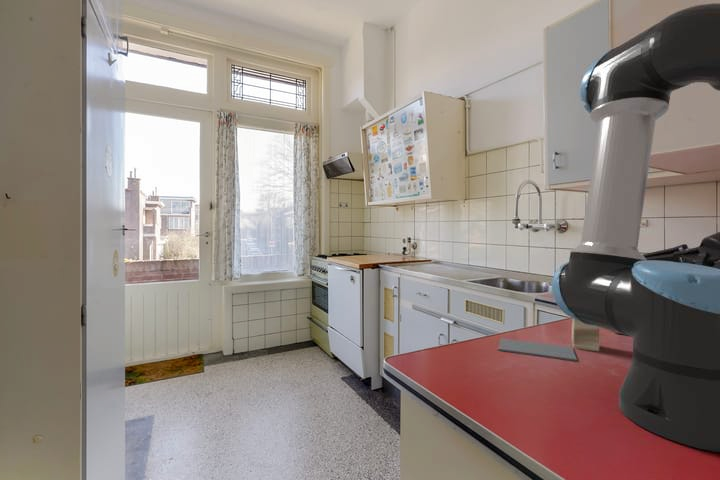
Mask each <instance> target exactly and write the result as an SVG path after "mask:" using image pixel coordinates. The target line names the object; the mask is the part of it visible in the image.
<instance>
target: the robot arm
mask: <svg viewBox="0 0 720 480" xmlns="http://www.w3.org/2000/svg"><path fill="white" fill-rule="evenodd" d="M695 83H704V84H708V85H710V86H711V88H713V89H714V90H716V91H718V92H720V2H719V3H715V2H713V3H703V4H698V5H694V6H690V7H686V8H684V9H680V10H679V11H676V12H674V13H672V14H669V15H668V16H667V17H664V18H663V19H662V20H660V21H659V22H658V23H656V24H654V25H652V26H651V27H649V28H647V29H645V30H644V31H642V32H640V33H639V34H637V35H636V36H634V37H632V38H629V40H627V41H625V42H624V43H622V44H621V45H619V46H615V48H612V49H610V50H608V51H607V52H605V53H604V54H603V55H602V56H601V57H599V58H598V59H597V60H596V61H595V60H594V62H593V63H592V64H591V65H590V66H589V67H588V68H587V70H586V71H585V73H584V75H583V77H582V80H581V83H580V88H579V89H580V90H579V96H580V100H581V102H584V104H583V108H584V109H585V110H586V111H587V112H588V113H589V116H590V117H589V118H590V120H591V121H593V122H594V123H595V124H597V130H596V136H595V144H594V150H593V151H594V152H593V157H592V164H591V171H590V177H589V185H588V192H587V198H586V205H585V212H584V220H583V226H582V233H581V240H580V243H579V244H578V245H577V246H575V247H574V248H573V249H571V250H570V252H569V253H570V254H569V261H567V262H565V263H563V264H561V265H560V267H559V268H558V269H556V271H555V272H554V274H553V277H552V280H551V281H552V282H551V293H552V297H553V300H554V302H555V304H556V305H557V306H558V308H559V309H560V310H561V311H562V312H563V313H564V314H565V315H566V316H568V317H570V318H571V319H572V318H574V319H577V320H579V321H581V322H582V323H585V324H588V325H595V326H598V327H599V328H601V329H605V330H609V331H611V332H613V331H614V332H613V333H615V332H617V333H621V334H620V335H624V336H629V337H631V338H632V362H631V365H629V369H628V371H627V373H626V375H625V377H624V380H623V382H622V384H621V387H620V388H619V391H618V407H619V410H620V411H621V413H622V414H623V415H624V416H625V417H626V418H628V419H629V420H630V421H631V422H633V423H634V424H636V425H638V426H639V427H641V428H643V429H645V430H647V431H649V432H651V433H653V434H655V435H658V436H660V437H663V438H664V439H668V440H670V441H673V442H676V443H679V444H682V445H685V446H687V447H688V446H689V447H693V448H696V449H700V450H703V451H704V450H705V451H709V452H714V453H720V231H718V232H716V233H713V234H711V235H708V236H706V237H704V238H703V239H702V240H701V242H700V245H699V246H697V247H693V248H692V247H691V248H690V247H688V244H685V243H684V244H680V245H677V246H674V247H670V248H666V249H662V250H661V249H660V250H658V251H657V250H656V251H653V252H647V253H644V254H642V253H641V252H640V251H639V249H638V246H639V240H640V231H641V224H642V218H643V217H642V216H643V211H644V205H645V196H646V191H647V183H648V175H649V169H650V164H651V163H650V162H651V161H650V160H651V156H652V155H651V154H652V149H653V142H654V133H655V127H656V121H657V120H658V119H659V118H661V117H662V116H664V115H665V114H666V113H667V112H668V110H669V106H670V99H671V94H672V92H674V91H676V90H679V89H681V88H684V87H687V86H689V85H691V84H695ZM617 333H616V334H617Z"/></svg>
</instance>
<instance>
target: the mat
mask: <svg viewBox="0 0 720 480" xmlns="http://www.w3.org/2000/svg"><path fill="white" fill-rule="evenodd" d="M497 349H498V351H501V352H507V353H514V354H521V355H528V356H535V357H536V356H537V357H541V358H542V357H543V358H544V357H545V358H551V359H558V360H564V361H565V360H566V361H572V362H573V361H574V362H577V361H578V359H577V356H576V354H575V351H574V347H573V346H567V345H559V344H558V345H557V344H550V343H542V342H534V341H527V340H519V339H511V338H510V339H509V338H503V337H501V338H500V341H499V344H498V348H497Z"/></svg>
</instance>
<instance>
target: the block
mask: <svg viewBox="0 0 720 480" xmlns="http://www.w3.org/2000/svg"><path fill="white" fill-rule="evenodd" d="M571 344H572V348H573V349H574V350H575V349H576V350H585V351H593V352H600V327H598V326H595V325H588V324H585V323H582V322H581V321H579V320H577V319H574V318H571Z"/></svg>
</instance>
